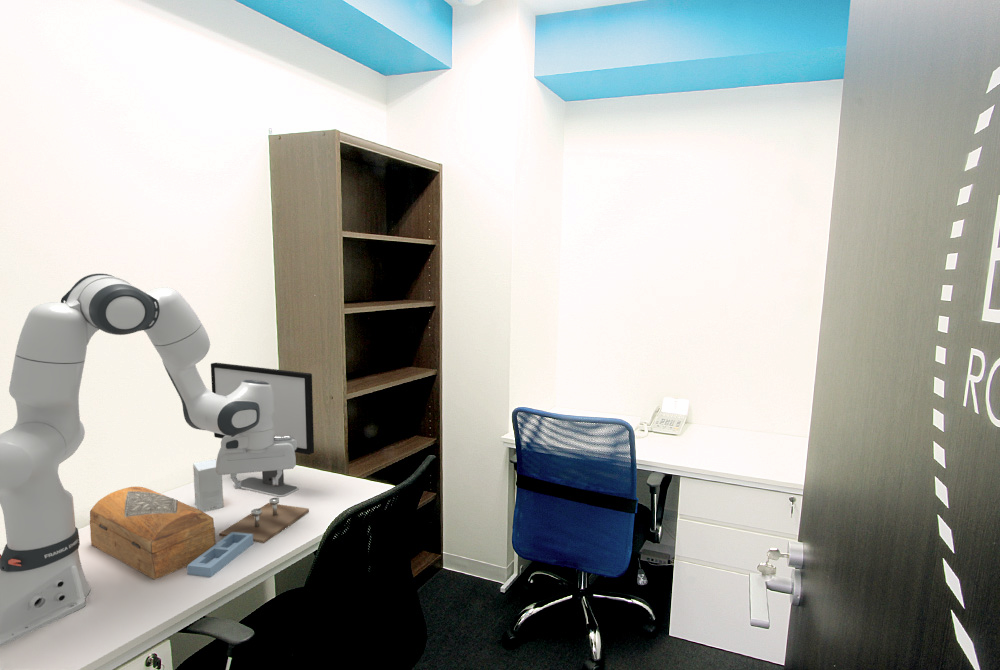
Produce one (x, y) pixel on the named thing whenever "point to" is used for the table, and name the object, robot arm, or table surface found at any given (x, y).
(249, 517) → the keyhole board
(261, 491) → the computer monitor
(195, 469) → the small box
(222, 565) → the blue compartment tray
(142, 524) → the wooden box
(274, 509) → the steel bosses
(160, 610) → the table surface
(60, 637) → the table surface
